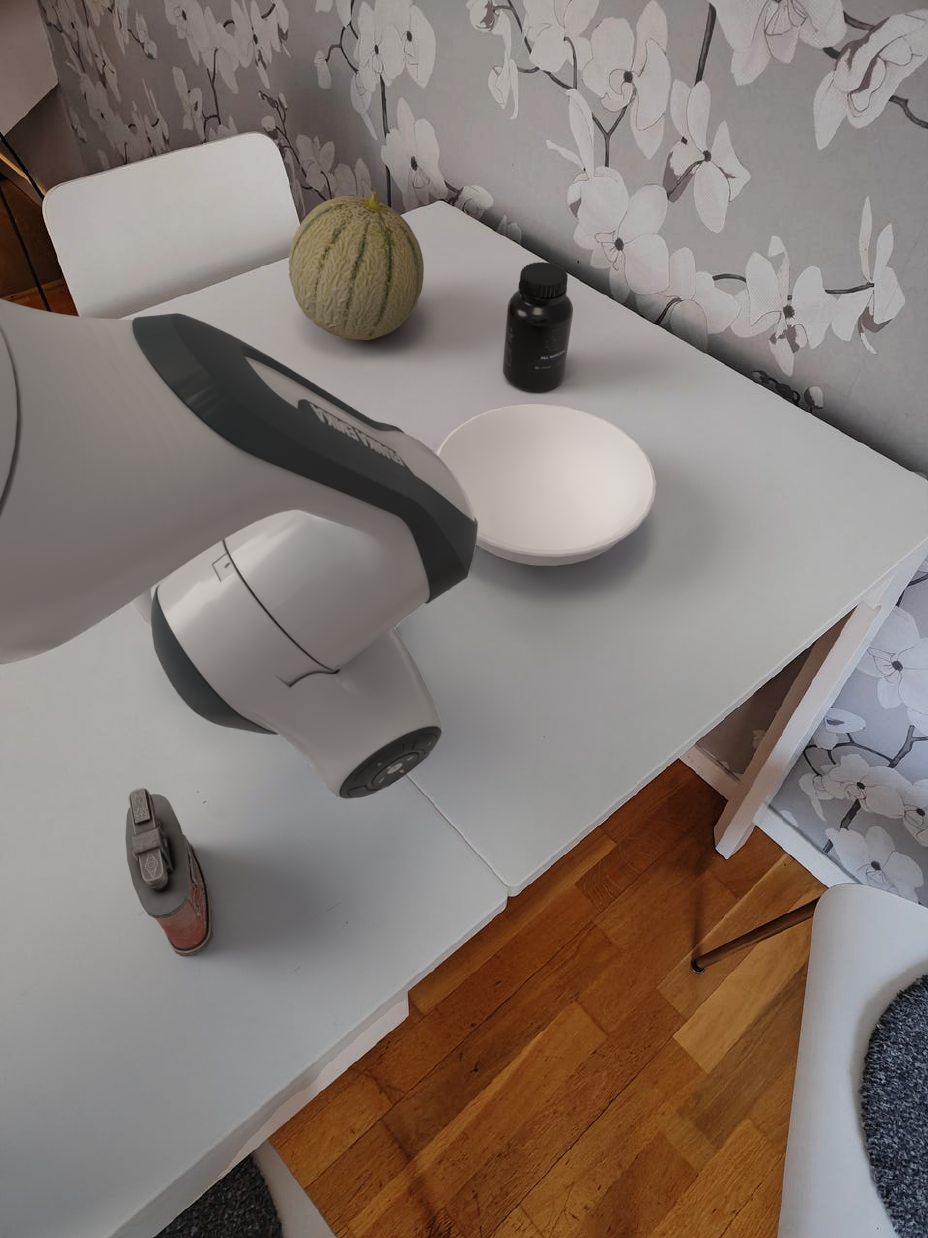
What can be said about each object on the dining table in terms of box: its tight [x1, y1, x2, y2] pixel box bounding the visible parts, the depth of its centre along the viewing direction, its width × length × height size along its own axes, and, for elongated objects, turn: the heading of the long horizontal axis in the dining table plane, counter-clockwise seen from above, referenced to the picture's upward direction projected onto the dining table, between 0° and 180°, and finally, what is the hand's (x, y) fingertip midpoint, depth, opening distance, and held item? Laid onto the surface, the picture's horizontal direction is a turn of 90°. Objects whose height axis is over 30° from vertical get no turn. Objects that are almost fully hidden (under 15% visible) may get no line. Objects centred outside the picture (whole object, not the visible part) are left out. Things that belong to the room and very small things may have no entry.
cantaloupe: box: [288, 190, 425, 341], centre depth 95 cm, size 15×15×15 cm
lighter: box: [125, 787, 214, 958], centre depth 55 cm, size 8×3×10 cm, turn 22°
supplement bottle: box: [502, 261, 574, 393], centre depth 92 cm, size 7×7×12 cm
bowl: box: [435, 403, 657, 567], centre depth 79 cm, size 20×20×6 cm
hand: (221, 465), depth 66 cm, fingers closed on switch, 3 cm apart
